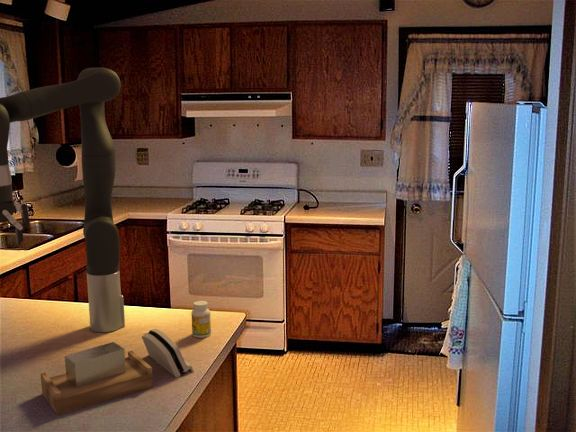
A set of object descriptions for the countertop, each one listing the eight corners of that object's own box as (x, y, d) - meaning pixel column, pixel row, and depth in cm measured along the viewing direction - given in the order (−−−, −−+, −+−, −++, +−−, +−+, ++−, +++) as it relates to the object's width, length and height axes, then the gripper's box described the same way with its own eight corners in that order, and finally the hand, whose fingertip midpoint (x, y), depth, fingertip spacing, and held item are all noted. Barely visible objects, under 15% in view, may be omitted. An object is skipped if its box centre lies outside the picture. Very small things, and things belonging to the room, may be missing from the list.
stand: (42, 393, 142) (40, 373, 141) (132, 369, 155) (131, 350, 154) (57, 415, 132) (55, 393, 131) (152, 387, 145) (151, 367, 144)
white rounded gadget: (194, 372, 153) (181, 339, 149) (178, 382, 151) (164, 350, 147) (165, 350, 166) (152, 319, 163) (150, 359, 164) (137, 329, 160)
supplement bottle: (213, 336, 176) (212, 304, 174) (194, 339, 174) (193, 307, 172) (208, 330, 181) (207, 298, 179) (190, 332, 179) (189, 301, 177)
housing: (66, 380, 141) (64, 355, 140) (114, 365, 149) (113, 341, 148) (76, 388, 137) (74, 363, 136) (125, 372, 145) (124, 348, 144)
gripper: (21, 179, 160) (26, 239, 163) (-40, 183, 152) (-33, 247, 155) (29, 182, 154) (34, 245, 157) (-34, 187, 146) (-28, 253, 149)
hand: (0, 246), depth 156 cm, fingers open, 8 cm apart
